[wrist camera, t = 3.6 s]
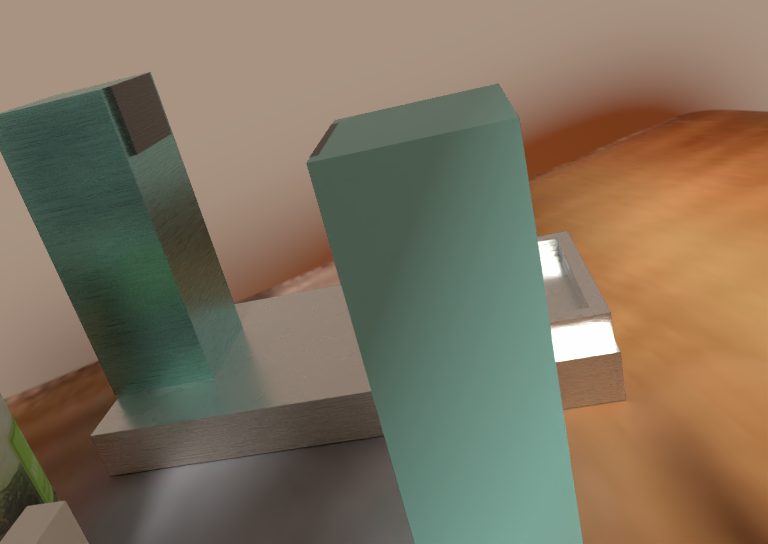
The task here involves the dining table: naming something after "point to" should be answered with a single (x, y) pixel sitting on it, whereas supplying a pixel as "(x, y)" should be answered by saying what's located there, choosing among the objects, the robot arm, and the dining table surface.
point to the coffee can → (18, 473)
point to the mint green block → (452, 315)
